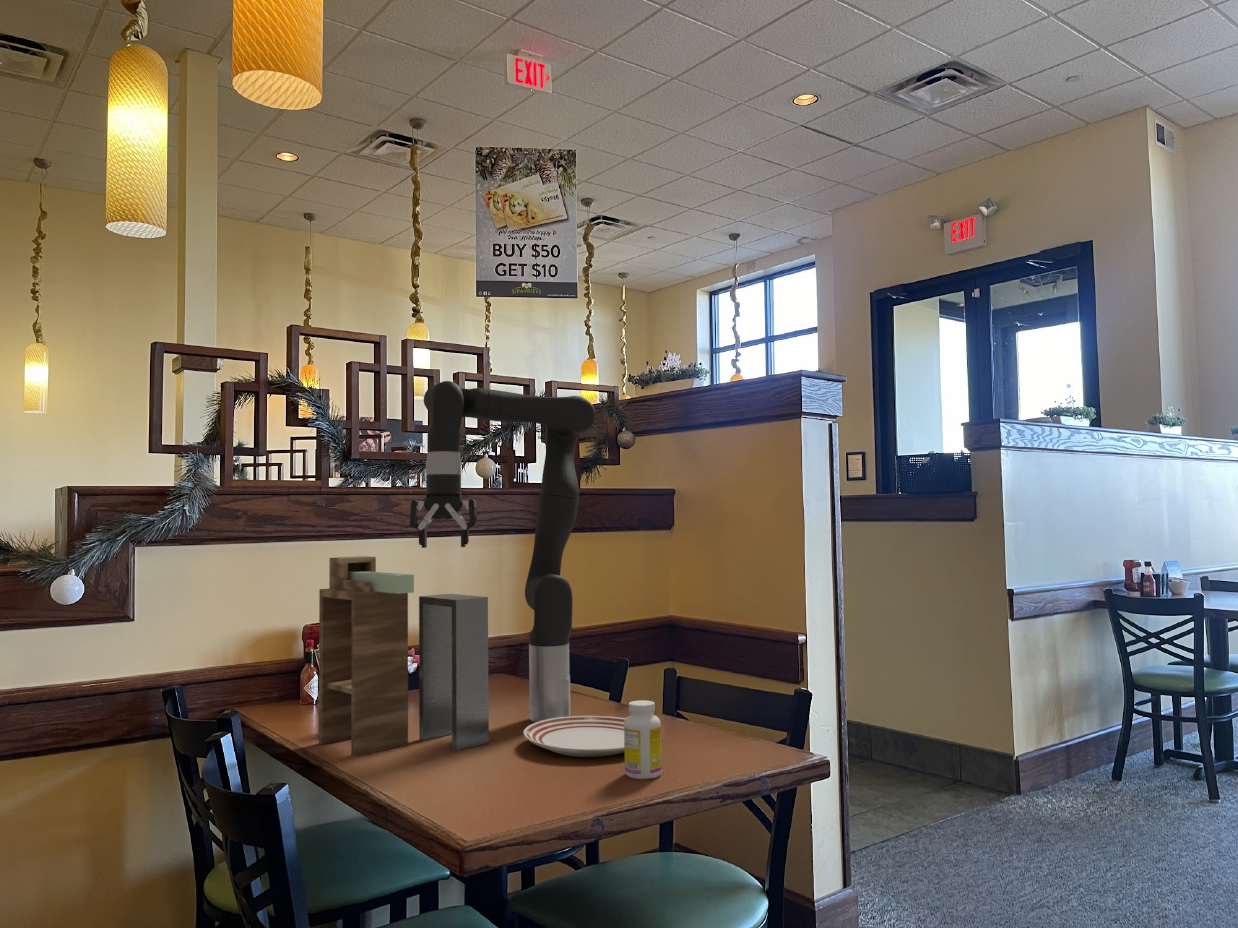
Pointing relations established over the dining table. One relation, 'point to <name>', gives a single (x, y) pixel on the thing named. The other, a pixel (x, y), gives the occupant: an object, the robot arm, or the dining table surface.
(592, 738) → the dinner plate
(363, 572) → the bar
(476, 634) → the side stand
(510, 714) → the dining table surface
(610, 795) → the dining table surface
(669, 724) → the dining table surface
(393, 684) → the tunnel stand
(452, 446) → the robot arm
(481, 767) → the dining table surface
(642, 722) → the supplement bottle
